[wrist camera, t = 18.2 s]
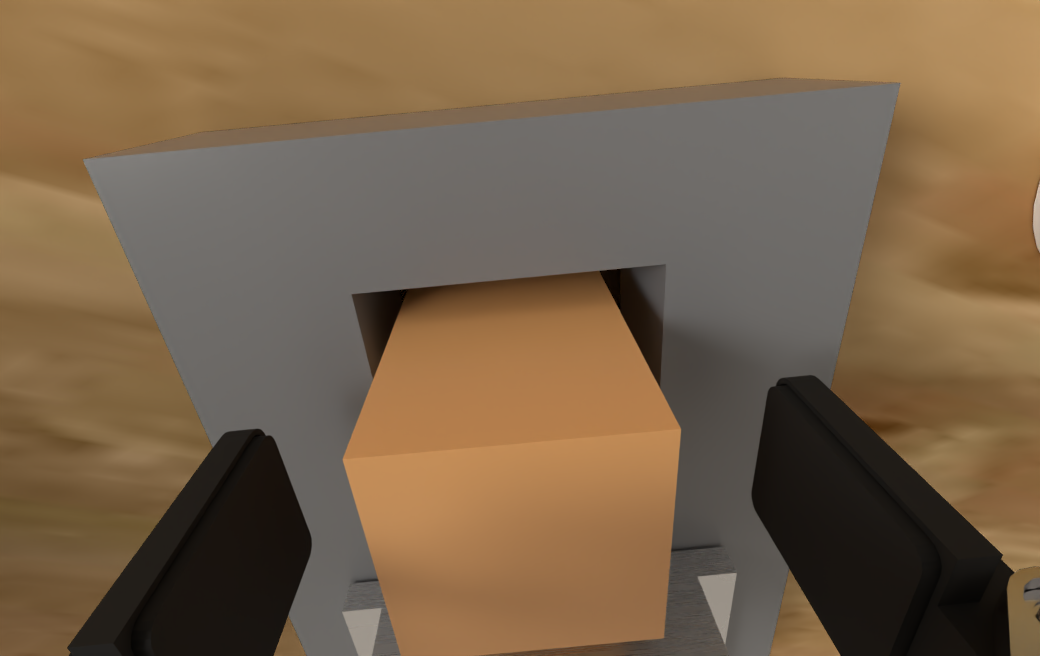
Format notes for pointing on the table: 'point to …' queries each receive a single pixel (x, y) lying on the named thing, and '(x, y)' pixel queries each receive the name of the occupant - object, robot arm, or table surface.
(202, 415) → the socket block
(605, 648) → the panel
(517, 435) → the plug peg
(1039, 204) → the cylindrical container
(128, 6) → the table surface
